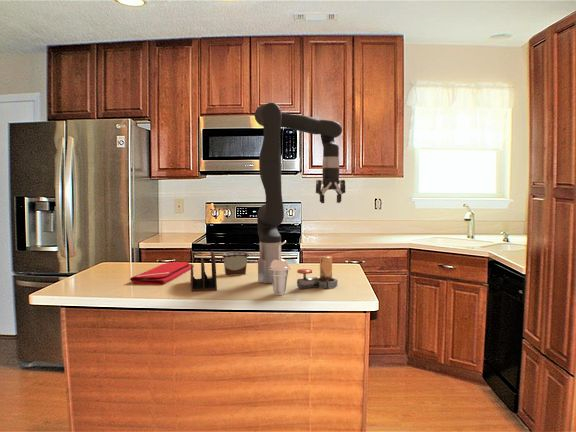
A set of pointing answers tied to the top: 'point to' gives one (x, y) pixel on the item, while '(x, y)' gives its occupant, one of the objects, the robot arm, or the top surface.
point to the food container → (235, 263)
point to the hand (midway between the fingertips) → (330, 203)
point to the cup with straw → (279, 274)
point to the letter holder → (204, 278)
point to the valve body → (313, 281)
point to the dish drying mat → (162, 273)
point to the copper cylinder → (326, 268)
